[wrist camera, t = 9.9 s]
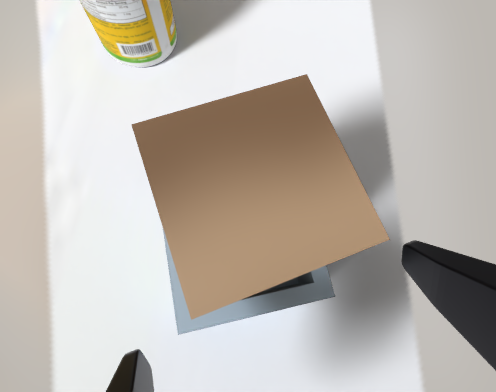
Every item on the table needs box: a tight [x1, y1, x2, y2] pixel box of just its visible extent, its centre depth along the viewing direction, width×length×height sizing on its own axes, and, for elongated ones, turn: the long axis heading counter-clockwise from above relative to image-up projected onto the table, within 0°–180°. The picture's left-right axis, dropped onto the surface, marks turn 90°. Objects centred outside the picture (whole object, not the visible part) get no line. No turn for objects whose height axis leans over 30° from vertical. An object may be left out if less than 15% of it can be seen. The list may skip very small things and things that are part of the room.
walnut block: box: [132, 74, 390, 320], centre depth 12 cm, size 4×4×11 cm
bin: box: [163, 229, 335, 335], centre depth 16 cm, size 7×7×4 cm
